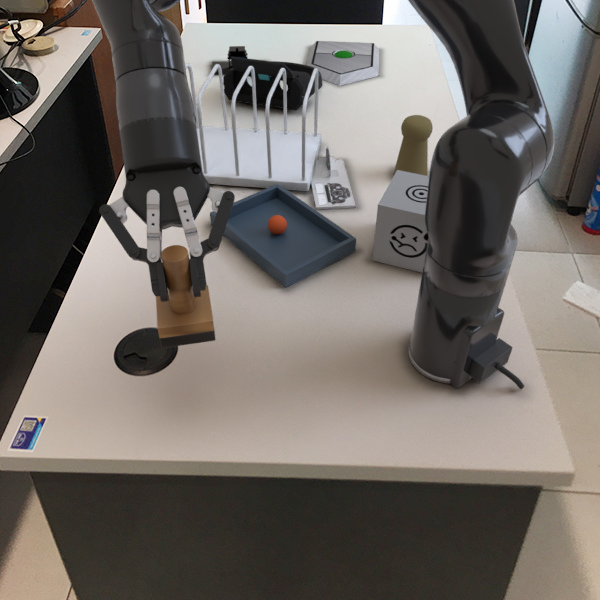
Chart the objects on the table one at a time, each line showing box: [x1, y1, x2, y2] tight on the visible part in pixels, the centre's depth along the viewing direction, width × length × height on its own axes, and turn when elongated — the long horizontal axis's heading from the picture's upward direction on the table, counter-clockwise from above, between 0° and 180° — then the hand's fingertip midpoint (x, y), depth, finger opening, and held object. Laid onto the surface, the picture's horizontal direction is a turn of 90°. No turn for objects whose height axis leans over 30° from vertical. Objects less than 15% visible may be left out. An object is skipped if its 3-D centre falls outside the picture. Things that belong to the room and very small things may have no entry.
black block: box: [210, 45, 265, 76], centre depth 146 cm, size 12×7×5 cm, turn 93°
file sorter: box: [185, 63, 323, 192], centre depth 110 cm, size 25×17×16 cm
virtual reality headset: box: [222, 56, 323, 111], centre depth 134 cm, size 19×22×10 cm
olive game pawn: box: [393, 114, 433, 177], centre depth 108 cm, size 6×6×11 cm
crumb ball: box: [268, 215, 287, 235], centre depth 98 cm, size 3×3×3 cm
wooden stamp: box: [155, 244, 217, 349], centre depth 64 cm, size 6×6×10 cm
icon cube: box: [371, 170, 429, 274], centre depth 93 cm, size 10×10×10 cm
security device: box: [305, 40, 380, 87], centre depth 147 cm, size 17×22×2 cm
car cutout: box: [310, 146, 356, 211], centre depth 109 cm, size 15×7×4 cm, turn 5°
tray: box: [209, 184, 357, 288], centre depth 98 cm, size 20×14×2 cm
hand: (181, 298), depth 62 cm, fingers closed on wooden stamp, 2 cm apart
